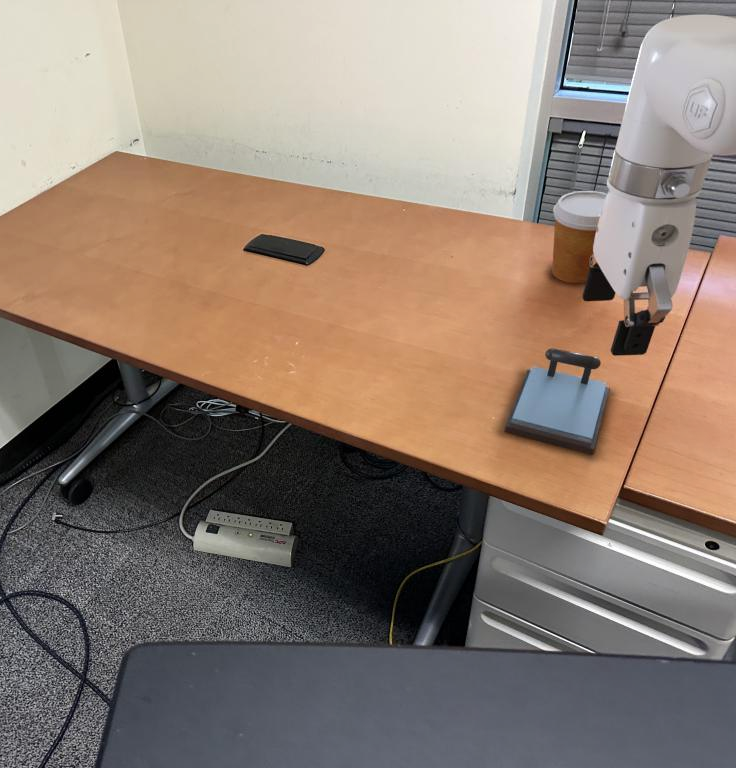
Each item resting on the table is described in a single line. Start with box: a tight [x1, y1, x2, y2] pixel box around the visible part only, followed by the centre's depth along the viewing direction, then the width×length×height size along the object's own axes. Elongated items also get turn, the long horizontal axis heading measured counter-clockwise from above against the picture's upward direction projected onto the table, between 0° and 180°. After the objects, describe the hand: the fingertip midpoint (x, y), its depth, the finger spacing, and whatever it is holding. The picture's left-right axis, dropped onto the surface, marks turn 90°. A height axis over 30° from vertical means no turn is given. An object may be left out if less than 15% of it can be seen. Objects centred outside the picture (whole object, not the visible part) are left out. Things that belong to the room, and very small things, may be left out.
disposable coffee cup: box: [551, 190, 608, 284], centre depth 106 cm, size 10×10×12 cm
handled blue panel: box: [512, 347, 608, 440], centre depth 85 cm, size 11×9×5 cm
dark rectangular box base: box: [504, 369, 611, 456], centre depth 86 cm, size 12×10×2 cm
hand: (611, 325), depth 73 cm, fingers open, 9 cm apart
